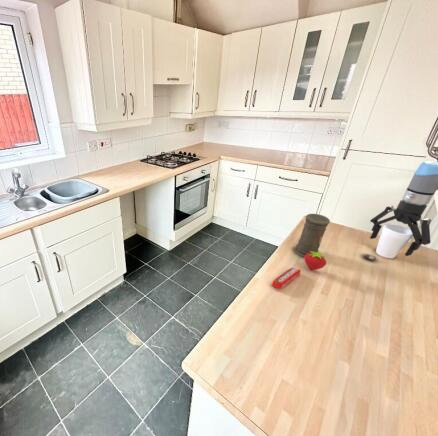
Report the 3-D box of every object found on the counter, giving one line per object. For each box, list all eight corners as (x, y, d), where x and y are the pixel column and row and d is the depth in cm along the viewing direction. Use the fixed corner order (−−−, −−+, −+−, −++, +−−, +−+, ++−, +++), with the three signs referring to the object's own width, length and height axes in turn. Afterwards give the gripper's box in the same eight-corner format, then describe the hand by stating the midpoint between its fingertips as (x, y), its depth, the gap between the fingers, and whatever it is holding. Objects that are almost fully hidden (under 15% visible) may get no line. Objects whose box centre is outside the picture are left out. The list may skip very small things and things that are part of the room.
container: (297, 257, 107) (309, 222, 98) (292, 245, 114) (302, 212, 106) (320, 260, 105) (334, 224, 96) (313, 248, 112) (326, 214, 104)
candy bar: (291, 270, 100) (293, 264, 98) (300, 275, 97) (302, 269, 95) (269, 286, 92) (270, 280, 90) (278, 292, 89) (280, 286, 88)
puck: (377, 260, 104) (378, 258, 103) (370, 262, 103) (371, 260, 102) (367, 254, 107) (368, 252, 107) (360, 256, 106) (361, 254, 106)
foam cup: (389, 262, 102) (404, 236, 96) (366, 250, 110) (378, 225, 104) (404, 258, 105) (420, 232, 99) (381, 246, 113) (394, 222, 106)
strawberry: (318, 278, 95) (327, 258, 90) (298, 269, 100) (305, 249, 95) (324, 271, 98) (332, 251, 93) (304, 262, 103) (311, 243, 99)
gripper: (373, 191, 105) (354, 233, 115) (450, 217, 84) (418, 265, 94) (385, 189, 107) (365, 230, 117) (464, 213, 86) (431, 261, 96)
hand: (389, 246), depth 106 cm, fingers open, 13 cm apart
